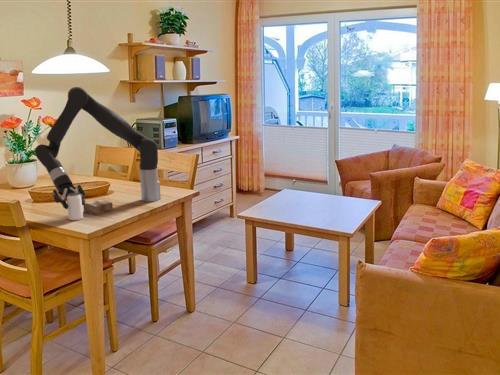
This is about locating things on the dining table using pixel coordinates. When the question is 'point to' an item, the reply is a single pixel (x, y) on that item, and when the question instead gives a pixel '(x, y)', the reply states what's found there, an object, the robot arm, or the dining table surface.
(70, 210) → the can
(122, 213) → the dining table surface
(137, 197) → the dining table surface
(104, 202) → the pedestal
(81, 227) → the dining table surface
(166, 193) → the dining table surface
